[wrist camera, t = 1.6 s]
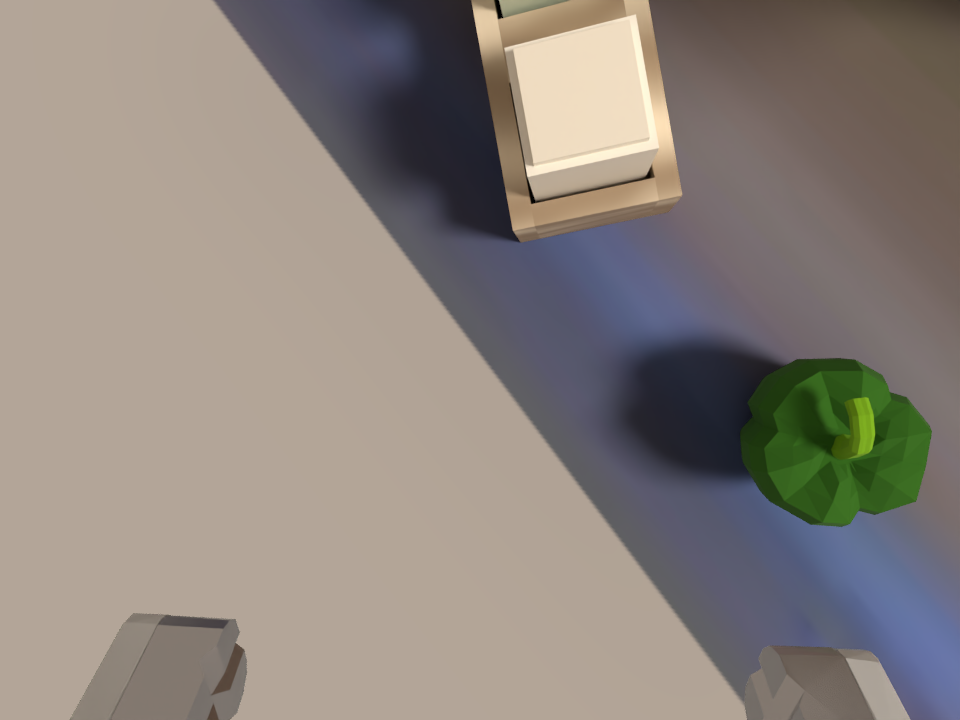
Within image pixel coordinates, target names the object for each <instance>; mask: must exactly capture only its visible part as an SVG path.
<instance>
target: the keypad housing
mask: <svg viewBox="0 0 960 720" xmlns="http://www.w3.org/2000/svg"><path fill="white" fill-rule="evenodd" d="M471 2H472V7H473V13H474V18H475V24H476V29H477V35H478V40H479V46H480V51H481V57H482V63H483V68H484V74H485V79H486V85H487V90H488V96H489V101H490V107H491V112H492V118H493V123H494V129H495V134H496V140H497V145H498V151H499V156H500V162H501V167H502V173H503V179H504V184H505V190H506V195H507V201H508V206H509V212H510V217H511V223H512V228H513V232H514V233H515V235H516V236H517V238H518V239H519V240H520V242H526V241H530V240H535V239H540V238H545V237H550V236H555V235H560V234H564V233H569V232H574V231H579V230H584V229H589V228H594V227H598V226H603V225H608V224H613V223H618V222H623V221H628V220H632V219H637V218H642V217H647V216H652V215H657V214H662V213H666V212H669V211H670V210H671V209H672V207H673V206H674V205H675V204H676V203H677V201H678V200H679V199H680V198H681V196H682V191H681V186H680V180H679V174H678V168H677V163H676V157H675V151H674V145H673V140H672V134H671V128H670V122H669V117H668V111H667V105H666V99H665V94H664V88H663V82H662V76H661V71H660V65H659V59H658V53H657V48H656V42H655V36H654V30H653V25H652V19H651V13H650V7H649V2H648V0H570V1H566V2H563V3H559V4H555V5H551V6H547V7H543V8H540V9H536V10H532V11H528V12H524V13H521V14H517V15H513V16H509V17H505V18H501V19H500V14H499V8H498V3H497V0H471ZM635 14H636V18H637V24H638V30H639V35H640V41H641V47H642V52H643V58H644V64H645V70H646V75H647V81H648V87H649V92H650V98H651V104H652V110H653V115H654V121H655V127H656V133H657V138H658V144H659V149H658V151H657V154H656V156H655V158H654V160H653V162H652V164H651V167H650V169H649V171H648V173H647V175H646V177H645V180H642V181H637V182H632V183H628V184H623V185H618V186H614V187H609V188H604V189H600V190H595V191H590V192H586V193H581V194H576V195H572V196H567V197H562V198H558V199H553V200H548V201H544V202H539V203H533V197H532V191H531V186H530V183H529V180H528V177H527V172H526V166H525V161H524V155H523V149H522V144H521V138H520V133H519V127H518V122H517V116H516V111H515V105H514V99H513V94H512V88H511V83H510V77H509V72H508V66H507V61H506V55H505V49H504V48H506V47H510V46H514V45H517V44H521V43H525V42H529V41H533V40H537V39H541V38H545V37H549V36H553V35H557V34H561V33H565V32H569V31H573V30H576V29H580V28H584V27H588V26H592V25H596V24H600V23H604V22H608V21H612V20H616V19H620V18H624V17H628V16H631V15H635Z"/></svg>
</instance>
